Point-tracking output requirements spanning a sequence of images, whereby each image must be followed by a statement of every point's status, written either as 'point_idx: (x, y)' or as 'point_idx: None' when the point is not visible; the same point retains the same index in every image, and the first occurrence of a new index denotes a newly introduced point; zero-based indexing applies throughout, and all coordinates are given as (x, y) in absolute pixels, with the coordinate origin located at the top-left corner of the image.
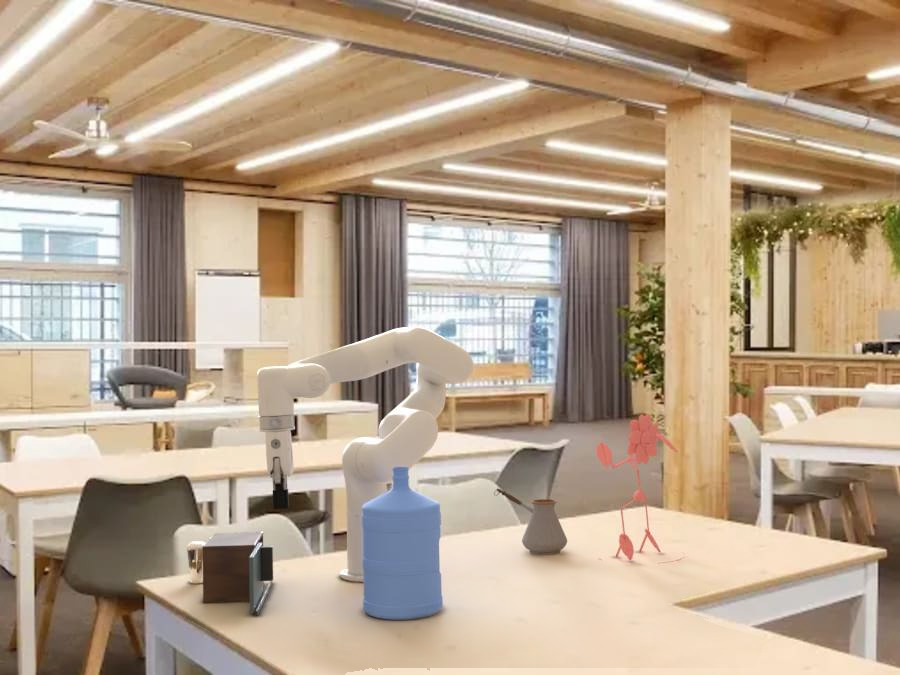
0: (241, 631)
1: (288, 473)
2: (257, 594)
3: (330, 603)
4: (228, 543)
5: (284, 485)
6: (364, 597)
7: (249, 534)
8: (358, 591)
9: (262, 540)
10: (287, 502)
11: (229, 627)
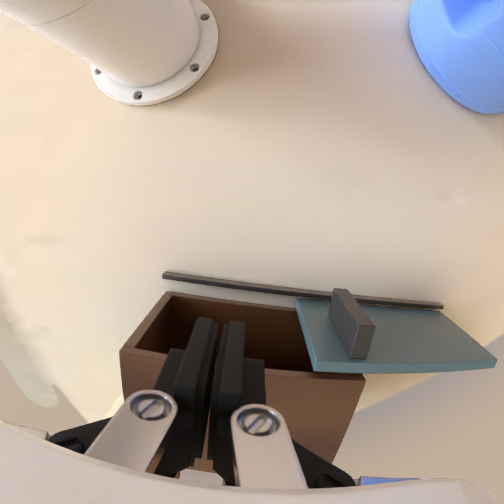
0: (496, 319)
1: (489, 496)
2: (399, 315)
3: (398, 153)
4: (309, 441)
5: (287, 447)
6: (496, 109)
7: None
8: (303, 75)
9: (138, 341)
10: (243, 341)
11: (474, 338)
